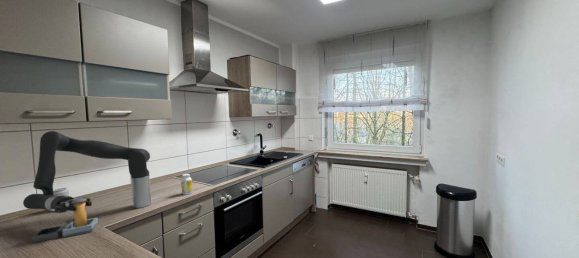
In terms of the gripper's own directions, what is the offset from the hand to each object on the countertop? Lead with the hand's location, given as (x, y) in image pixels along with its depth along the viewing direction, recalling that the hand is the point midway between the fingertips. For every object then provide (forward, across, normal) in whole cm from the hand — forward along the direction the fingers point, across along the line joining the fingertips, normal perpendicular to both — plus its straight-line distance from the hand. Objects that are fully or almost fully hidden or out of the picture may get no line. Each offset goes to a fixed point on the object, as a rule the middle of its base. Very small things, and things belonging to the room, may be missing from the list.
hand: (83, 206), depth 109 cm
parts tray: (-3, 0, +12) cm, 12 cm away
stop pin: (-3, 0, +10) cm, 11 cm away
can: (-49, +16, +12) cm, 53 cm away
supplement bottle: (+7, +57, +12) cm, 58 cm away
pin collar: (-10, -8, +12) cm, 17 cm away
